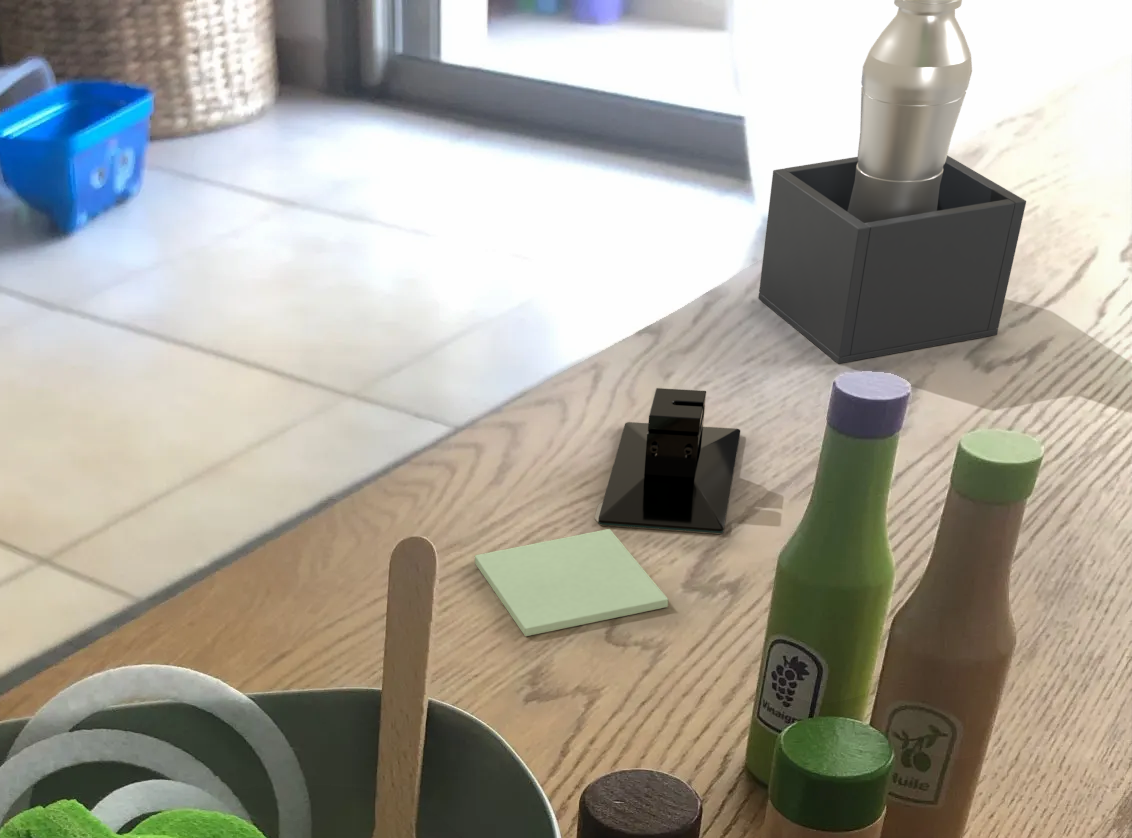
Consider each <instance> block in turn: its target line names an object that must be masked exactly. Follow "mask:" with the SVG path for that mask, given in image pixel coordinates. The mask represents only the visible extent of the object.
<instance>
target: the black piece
mask: <svg viewBox="0 0 1132 838" xmlns="http://www.w3.org/2000/svg"><path fill="white" fill-rule="evenodd" d="M706 399H707V391H706V390H699V389H698V390H696V389H679V388H664V387H663V388H662V387H660V388H659V387H656V388H655V391H654V394H653V399H652V403H651V407H650V411H649V414H648V421H647V422H635V421H634V422H631V421H627V422H625V423H624V425H623V430H622V433H621V436H620V439H619V444H618V447H617V449H616V450H617V451H616V454H615V458H614V461H613V464H612V469H611V472H610V476H609V479H608V482H607V486H606V489H605V493H604V498H603V501H602V502H601V503H599V504H598V505H597V508H596V512H595V515H594V520H595V521H596V522H597V523H598V525H599V526H604V527H617V528H630V529H631V528H633V529H645V530H659V531H671V532H672V531H673V532H687V533H698V534H699V533H702V534H712V535H713V534H714V535H722V534H723V533H724V531H725V525H726V519H727V514H728V507H729V502H730V497H731V496H730V495H731V490H732V483H733V477H734V473H735V466H736V461H737V455H738V449H739V443H740V438H741V429H740V428H732V427H731V428H730V427H716V426H704V423H705V411H706Z"/></svg>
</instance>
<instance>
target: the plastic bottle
mask: <svg viewBox="0 0 1132 838" xmlns="http://www.w3.org/2000/svg"><path fill="white" fill-rule="evenodd" d="M893 2H894V3H893V4H894V5H895V7H897V8H898V9H897V13H896V15H895V16H894V17H893V18H892V19H891V21H890V22H889V23H888V25H886V27H885V28H884V29H883V30H882V32H881V33H880V35H879V36H878V37H877V39H876V40H875V42H874V43H873V44H872V46H871V48H870V49H869V51H868V53H867V56H866V58H865V60H864V63H863V65H862V73H861V81H860V82H861V90H860V121H859V122H860V124H859V125H860V126H859V127H860V128H859V129H860V130H859V131H860V132H859V139H858V149H857V157H858V163H857V165H856V175H855V182H854V186H853V191H852V195H851V199H850V203H849V207H848V213H850V214H851V215H853V216H854V217H856V218H857V219H859V220H860V221H862V222H863V223H867V222H873V221H880V220H886V219H892V218H898V217H904V216H910V215H916V214H922V213H928V212H934V211H937V205H938V196H939V188H940V182H941V178H942V174H943V165H944V164H945V162H946V158H947V155H948V153H949V149H950V144H951V141H952V136H953V133H954V131H955V127H956V124H957V122H958V119H959V116H960V112H961V109H962V106H963V103H964V100H965V97H966V94H967V90H968V88H969V85H970V81H971V78H972V73H973V63H972V53H971V51H970V47H969V45H968V41H967V40H966V37H965V35H964V32H963V30H962V29H961V26H960V24H959V22H958V20H957V18H956V9H959V8H961V6H962V2H963V0H893Z"/></svg>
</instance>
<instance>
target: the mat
mask: <svg viewBox="0 0 1132 838" xmlns="http://www.w3.org/2000/svg"><path fill="white" fill-rule="evenodd" d="M474 564H475V565H476V567H477V568H478V570H479V571H480V573H481V575H482V576H483V577H484V578H485V580H486V582H487V583H488V584H489V586H490V587H491V589H492V591H493V592H494V593H495V595H496V596H497V597H498V599H499V601H500V602H501V603H502V605H503V606H504V608H505V609H506V611H507V612H508V614H509V615H510V616H511V618H512V619H513V622H515V624H516V626H517V627H518V628H519V630H520V631H521V632H522V634H523V635H524V637H530V636H534V635H540V634H544V633H549V632H553V631H559V630H564V629H569V628H573V627H578V626H583V625H587V624H592V623H597V622H602V621H606V620H607V621H608V620H611V619H612V620H613V619H616V618H621V617H626V616H631V615H636V614H641V613H646V612H650V611H654V610H655V611H656V610H661V609H664V608H668V607H669V598H668V597H667V595H666V594H665V593H664V592H663V591H662V590H661V589H660V587H659V586H658V585H657V584H656V583H655V581H654V580H653V578H651V576H650V575H649V573H647V572H646V571H645V569H644V568H643V567H642V566H641V564H640V563H639V562H638V560H637V559H635V557H634V556H633V555H632V553H631V552H630V551H629V550H628V548H626V546H625V545H624V544H623V543H622V542H621V540H620V539H619V538H618V536H616V534H615V533H614V532H613V530H611V528H606V529H602V530H597V531H591V532H586V533H580V534H576V535H571V536H567V537H561V538H555V539H551V540H545V541H540V542H536V543H530V544H526V545H520V546H516V547H509V548H505V549H500V550H495V551H490V552H489V551H488V552H485V553H480V554H475V555H474Z"/></svg>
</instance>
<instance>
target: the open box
mask: <svg viewBox="0 0 1132 838" xmlns="http://www.w3.org/2000/svg"><path fill="white" fill-rule="evenodd" d="M857 163H858V156H854V157H847V158H841V159H835V160H828V161H822V162H815V163H809V164H803V165H796V166H790V167H784V168H779V169H773V170H772V177H771V186H770V194H769V195H770V196H769V204H768V213H767V222H766V230H765V236H764V237H765V238H764V247H763V256H762V262H761V263H762V265H761V273H760V274H761V275H760V280H759V281H760V282H759V289H758V290H759V291H758V296H757V298H758V300H760V301H761V302H762V303H763V304H764V305H766V306H767V307H768V308H769V309H771V310H772V311H773V312H774V313H776V314H777V315H778V316H779V317H780V318H782V319H783V321H785V322H787V324H789V325H790V326H792V327H793V328H794V329H795V330H796V331H797V332H799V333H800V334H802V336H804V337H805V338H806V339H807V340H809V341H810V342H811V343H812V344H813V345H815V346H816V348H819V350H821V351H822V352H824V354H826V355H827V356H828V357H829V358H830V359H832V360H833V361H834V362H836V364H844V363H849V362H854V361H860V360H865V359H871V358H876V357H877V358H878V357H881V356H889V355H893V354H898V353H905V352H909V351H915V350H920V349H925V348H931V347H937V346H943V345H947V344H954V343H960V342H965V341H969V340H975V339H980V338H987V337H991V336H997V335H998V332H999V327H1000V323H1001V319H1002V313H1003V309H1004V305H1005V300H1006V295H1007V291H1008V287H1009V282H1010V277H1011V274H1012V268H1013V263H1014V258H1015V254H1016V250H1017V245H1018V241H1019V237H1020V232H1021V228H1022V223H1023V218H1024V214H1025V209H1026V205H1027V200H1026V199H1024V198H1022V197H1020V196H1019V195H1017V194H1016V193H1013V192H1012V191H1010V190H1009V189H1007V188H1005V187H1003V186H1001V185H1000V184H998V183H997V182H994V181H993V180H990V179H989V178H988V177H986V176H984V175H982V174H981V173H979V172H978V171H975V170H974V169H972V168H971V167H968V166H967V165H965V164H963V163H962V162H959V160H956V159H955V158H953V157H952V156H949V155H948V154H947V158H946V162H945V164H944V165H943V174H942V178H941V182H940V188H939V196H938V205H937V211H934V212H928V213H922V214H916V215H910V216H904V217H898V218H892V219H886V220H880V221H873V222H867V223H863V222H862V221H860V220H859V219H857V218H856V217H854V216H853V215H851V214H850V213H848V207H849V203H850V199H851V195H852V191H853V186H854V182H855V175H856V165H857Z"/></svg>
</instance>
